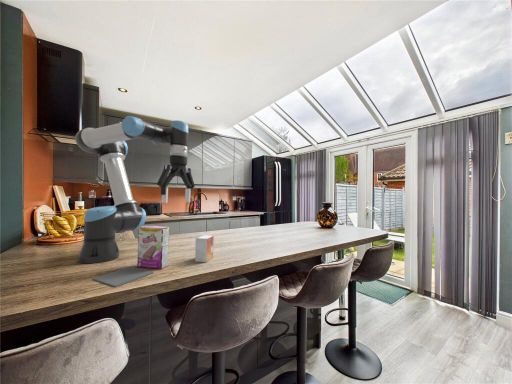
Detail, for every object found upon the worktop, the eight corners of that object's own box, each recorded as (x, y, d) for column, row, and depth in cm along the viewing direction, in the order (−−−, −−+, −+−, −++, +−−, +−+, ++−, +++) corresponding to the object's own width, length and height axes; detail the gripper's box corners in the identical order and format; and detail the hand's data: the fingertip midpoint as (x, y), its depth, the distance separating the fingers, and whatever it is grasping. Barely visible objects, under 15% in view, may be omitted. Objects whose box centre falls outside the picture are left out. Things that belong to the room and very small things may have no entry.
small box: (206, 262, 95) (206, 238, 95) (194, 261, 96) (195, 238, 96) (213, 257, 103) (214, 235, 103) (202, 256, 104) (203, 234, 104)
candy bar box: (136, 267, 87) (137, 227, 87) (144, 263, 92) (145, 225, 92) (161, 269, 85) (162, 228, 85) (168, 265, 90) (169, 226, 90)
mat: (92, 279, 74) (92, 278, 74) (131, 267, 87) (131, 266, 87) (115, 287, 68) (115, 286, 68) (153, 273, 81) (153, 272, 81)
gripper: (161, 150, 85) (159, 203, 85) (203, 159, 108) (201, 202, 108) (149, 151, 89) (146, 202, 88) (191, 160, 111) (189, 201, 111)
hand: (176, 202), depth 98 cm, fingers open, 13 cm apart
